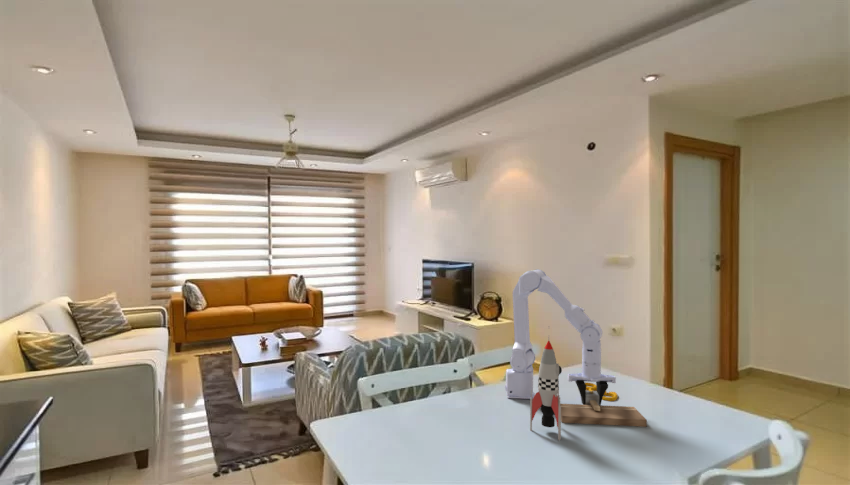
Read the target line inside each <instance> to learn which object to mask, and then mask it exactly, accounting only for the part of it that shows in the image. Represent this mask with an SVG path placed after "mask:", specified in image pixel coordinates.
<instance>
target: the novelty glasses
mask: <svg viewBox="0 0 850 485" xmlns="http://www.w3.org/2000/svg"><path fill="white" fill-rule="evenodd" d="M585 385H586V391H597V386H596V383H594V382H593V383H592V382H585ZM617 399H618V394H617V392H616V391H609V392H607V390H606V391H605V393H604V395H603V398H602V401H606V402H614V401H617Z"/></svg>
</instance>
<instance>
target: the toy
mask: <svg viewBox="0 0 850 485" xmlns="http://www.w3.org/2000/svg"><path fill="white" fill-rule="evenodd" d="M548 328H550V325H548ZM542 350H543V351H542V355H541V359H540V363H539V364H540V365H539V368H538V379H537V381H538V382H537V388H538V392H536V393H534V395H535V396H534V398H533V399H532V390H531V398H530V399H529V402H530V404H529V405H530V406H529V410H530V411H529V415H530V417H529V430H530V431H533V430H532V429H533V420H534V418H535V416H536V413H537V412H538V411H539V409H540V411H541V414H542V416H541V425H542V427H545V428H553V427H555V422H556V427H557V430H558V431H557V433H558V434H557V437H558V438H557V439H558V441H561V440H562V439H561V438H562V437H561V433H562V432H561V431H562V429H561V428H562V425H561V424H562V421H561V406H560V404H561V397H560V383H559V382H560V381H559V376H560V375H561V374H562V371H563V369H562V367H561V365H560V364H559V363H557V359H556V355H555V350H554V347H553V346H552V343H551V341H550V336H548V340H547V342H546V344H545V347H544V348H543V349H542ZM554 416H555V417H554ZM555 420H556V421H555Z"/></svg>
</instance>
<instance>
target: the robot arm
mask: <svg viewBox="0 0 850 485" xmlns="http://www.w3.org/2000/svg"><path fill="white" fill-rule="evenodd" d="M536 290H537V292H541V293H545V294H547V295H548V296H550V298H551V299H553V301H554V302H555V303H556V304H557V305H558V306H559V307H560V308H561V310H563V311H564V318H565V319H566V320H567V321H568V322H569V324H571V326H573V328H574V329H575V330H576V331H577V332H578V333H580V335H579V336H580V339H581V340H582V346H581V347H582V348H581V372H577V373H567V381H568V382H570V383H571V382H575V384H576V387H577V388H578V392H579V395H580V400H581V405H585V403H586V397H585V394H586V391H587V390H586V385H585V383H586V382H587V383H592V382H593V383H594V382H595V385H596V386H597V390H596V392H597V393H598V394H599V405H601V404H602V401H603V400H602V398H603V396H605V395H604V393H605V391H606V392H607V390H608V388H609V383H612V384H616V380H617V377H616V376H615V375H612V374H603V373H602V343H601V341H602V340H601V339H602V337H603V330H602V328H601V326H600V324H598V323H596V322H595V320H594V319H591V318H590V317H589V316H588V315H587V314H586V313H585V312H584V311H585V308H584V307H582V306H581V307H580V306H579V305H576V304H573V303H572V302H571V301H570V300H569V299H568V297H567V296H566V295H565V294H564V293H563V292H562V291H561V289H560V288H559V287H558V286H557V285H556V283H555V282H554V281H553V280H552V278H551V277H550V276H549V275H547V273H546V272H545V271H544V270H542V269H539V268H537V269H534V270H527V271H525V272H524V273H523V274H521V275H520V276H519V277H518V281H517V283H516V284H515V286H514V288H513V291H512V308H513V312H512V313H513V330H514V331H513V332H514V333H513V334H514V335H513V336H514V343H513V347H512V351H511V357H510V358H509V364H510V366H511V368H507V369H506V370H505V387H504V388H505V393H506V397H507V398H508V399H523V400H524V399H525V400H530V398H531V390H532V400H533V398H534V396H535V393H534V367H533V364H534V363H535V361H536V354H535V352H534V350H533V345H532V343H531V341H530V340H531V339H530V338H531V336H530V315H529V314H530V313H529V312H530V311H529V296H530V295H532V293H533V292H535V291H536Z"/></svg>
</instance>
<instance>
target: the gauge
mask: <svg viewBox="0 0 850 485" xmlns="http://www.w3.org/2000/svg"><path fill="white" fill-rule="evenodd" d="M585 397H586V403H585V405H592V407H593V409H594V410H595V411H600V406H599V394H598V393H597V390H593V391H589V390H586V394H585Z"/></svg>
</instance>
